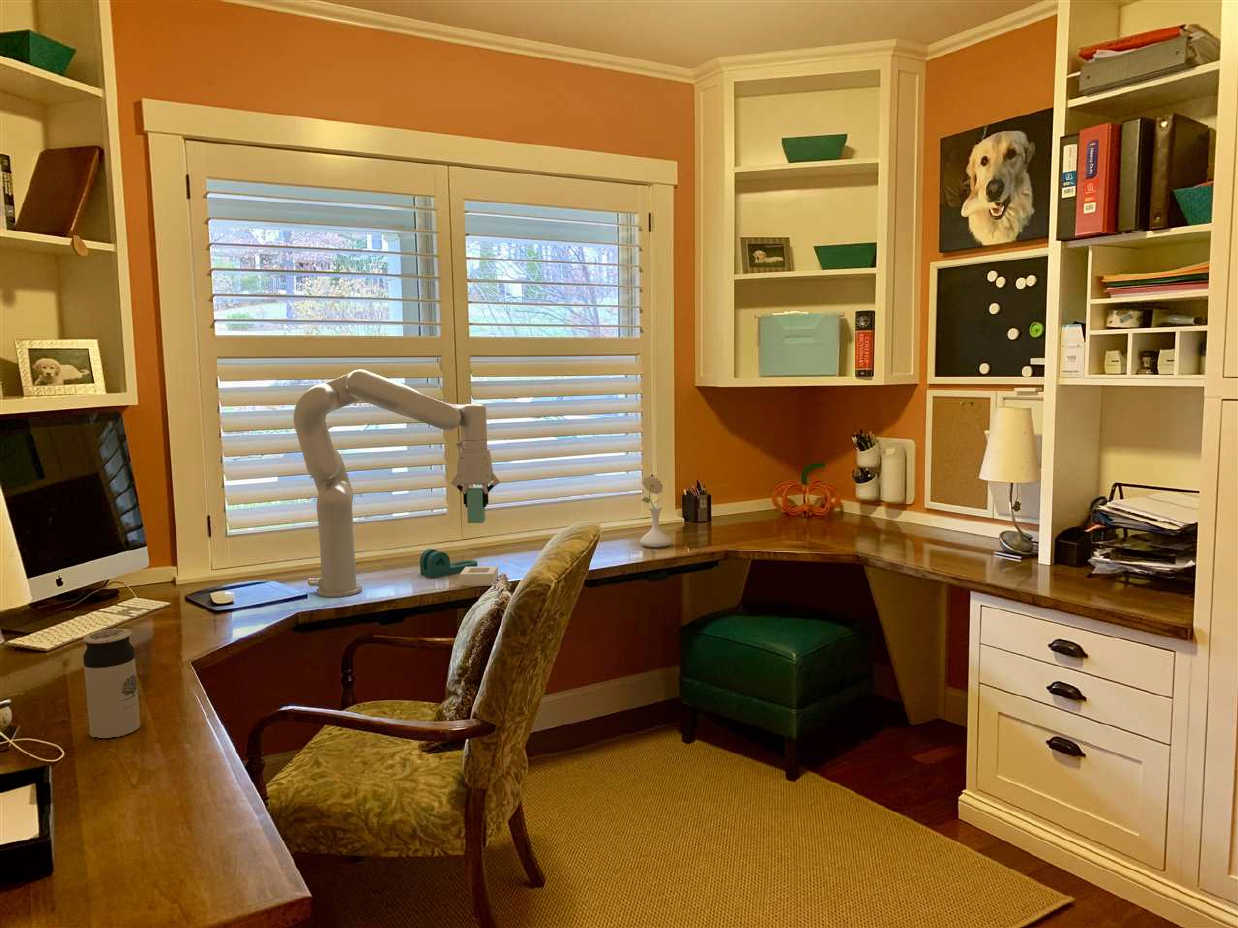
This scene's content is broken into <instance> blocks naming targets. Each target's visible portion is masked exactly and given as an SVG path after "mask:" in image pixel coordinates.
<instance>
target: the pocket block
mask: <svg viewBox="0 0 1238 928" xmlns="http://www.w3.org/2000/svg"><path fill="white" fill-rule="evenodd" d="M497 577H498V578H499V566H497V565H495V566H493V565H492V566H491V565H490V566H486V565H485V566H477V567H465V568H464V569H463V571H462V572H461V573H459V586H460V587H473V586H474V587H475V586H477V587H479V586H480V587H481V586H482V587H483V586H486V587H487V586H492V585H491V584H492V583H493V582H494V581H495V579H496V578H497Z"/></svg>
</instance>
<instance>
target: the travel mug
mask: <svg viewBox="0 0 1238 928" xmlns="http://www.w3.org/2000/svg"><path fill="white" fill-rule="evenodd" d="M131 635H132V631H131V630H130V629H126V628H111V629H109V628H108V629H104V630H103V629H102V630H99V631H94V632H92V633H89V634H86V635H85V636H84V637H83V639H82V640H83V642H85V644H86V645H85V646H86V649H85V652H84V653H83V655H82V658H83V660H82V661H83V669H84V670H83V671H84V681H85V690H86V691H85V692H86V693H85V694H86V704H87V717H88V724H89V725H88V727H89V735H90V737H91V738H94V737H98V738H111V737H117V738H120V736H121V737H124V736H127V734H128V735H129V733H130V734H132V733H133V732H135V731H137V730H138V729H140V727H141V719H140V718H141V717H140V707H139V706H140V705H139V692H138V680H137V679H138V678H137V668H136V655H135V648H134V646H133V645H132V643H131V642H130V637H131ZM98 738H97V739H98ZM111 739H112V738H111Z"/></svg>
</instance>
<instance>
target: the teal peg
mask: <svg viewBox="0 0 1238 928" xmlns="http://www.w3.org/2000/svg"><path fill="white" fill-rule="evenodd" d="M483 492H484V490H483V487H482V486H481V487H468V489H467V507H466V509H467V511H466V512H467V513H466V514H467V524H483V523H484V522H485V521H486V507H483Z"/></svg>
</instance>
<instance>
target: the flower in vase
mask: <svg viewBox="0 0 1238 928" xmlns="http://www.w3.org/2000/svg"><path fill="white" fill-rule="evenodd" d="M641 481H642V483H641V484H642V486H643V488H645V490H646V491H648V492H649V494H648V497H647V496H644V497H643V498H642V500H641V502H644V503H647V504H649V503H651V505H652V506H649V507H648V508H647V509H648V510H649V512H650V514H651V519H652V522H651V523H652V525H651V528H650V530H649V531H648V532H647V533H645V534H644V535H643V536H642V537H641V538H640V540H639V544H640V545H641V546H645V547H648V548H662V547H663V548H664V547H666V546H669V545H671V544H672V542H673V541H672V538H671V537H670V536H668V534H666V533H665V532H664V531H663V530H661V527H660V524H659V523H660V522H659V521H660V520H659V519H660V514H661V511H662V510H663V507H662V506H654V504H657V503H658V502H660V501H661V499H657V500H655V501H654V502H652V499H651V493H652V494H656V495H658V494H660V493H662V492H663V487H664V486H663V483H662V481H661V480H659V478H656V477H655V476H654V475H652V476H651V475H646V476H645V477H643V478H642V480H641Z"/></svg>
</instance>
